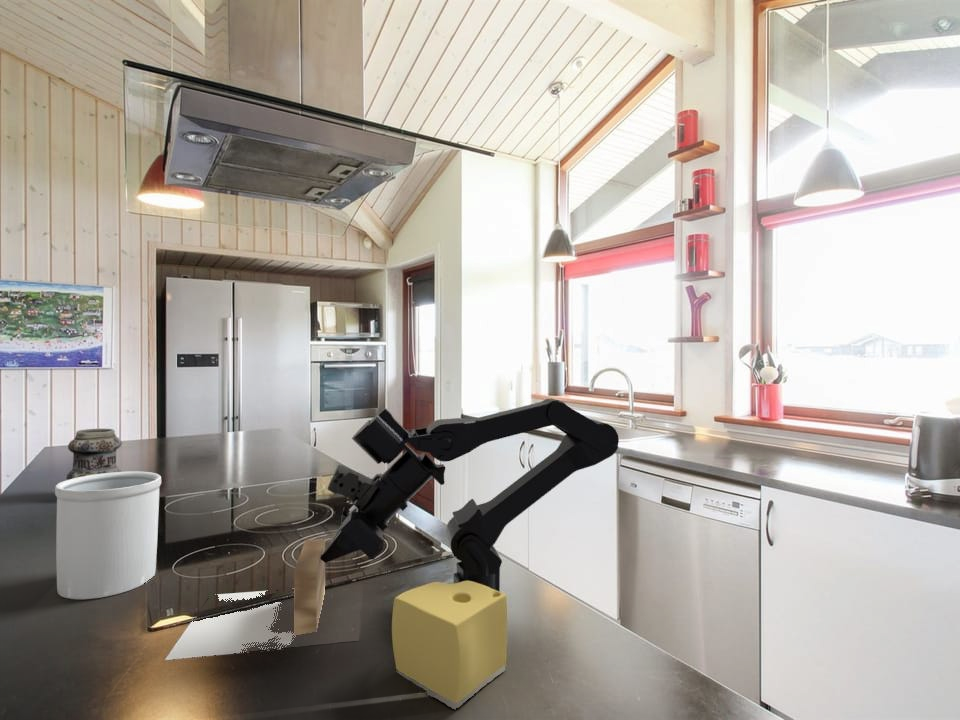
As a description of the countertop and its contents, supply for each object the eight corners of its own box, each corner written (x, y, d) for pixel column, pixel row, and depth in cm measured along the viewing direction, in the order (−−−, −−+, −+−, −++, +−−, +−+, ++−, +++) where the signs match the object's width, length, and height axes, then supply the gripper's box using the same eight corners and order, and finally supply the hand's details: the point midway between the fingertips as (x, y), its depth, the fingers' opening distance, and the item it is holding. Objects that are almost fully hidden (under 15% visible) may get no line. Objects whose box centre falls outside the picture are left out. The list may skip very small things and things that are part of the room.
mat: (363, 586, 87) (363, 583, 87) (359, 644, 70) (359, 641, 70) (209, 598, 83) (209, 594, 83) (164, 664, 65) (164, 660, 65)
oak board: (325, 594, 83) (325, 538, 83) (316, 633, 71) (316, 569, 71) (305, 595, 83) (305, 540, 83) (293, 635, 71) (293, 570, 71)
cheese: (448, 642, 71) (448, 569, 71) (511, 673, 64) (512, 593, 64) (390, 678, 63) (390, 596, 63) (455, 718, 56) (456, 626, 56)
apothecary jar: (129, 494, 143) (129, 429, 143) (78, 504, 133) (78, 434, 133) (109, 487, 150) (109, 425, 149) (58, 497, 139) (59, 430, 139)
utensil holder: (143, 557, 99) (144, 466, 99) (174, 579, 89) (174, 478, 89) (44, 583, 87) (45, 480, 87) (67, 611, 78) (68, 496, 78)
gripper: (362, 438, 87) (293, 505, 85) (359, 460, 69) (270, 547, 67) (408, 483, 89) (341, 550, 87) (417, 516, 71) (332, 602, 69)
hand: (323, 560), depth 77 cm, fingers closed, pressing on oak board
